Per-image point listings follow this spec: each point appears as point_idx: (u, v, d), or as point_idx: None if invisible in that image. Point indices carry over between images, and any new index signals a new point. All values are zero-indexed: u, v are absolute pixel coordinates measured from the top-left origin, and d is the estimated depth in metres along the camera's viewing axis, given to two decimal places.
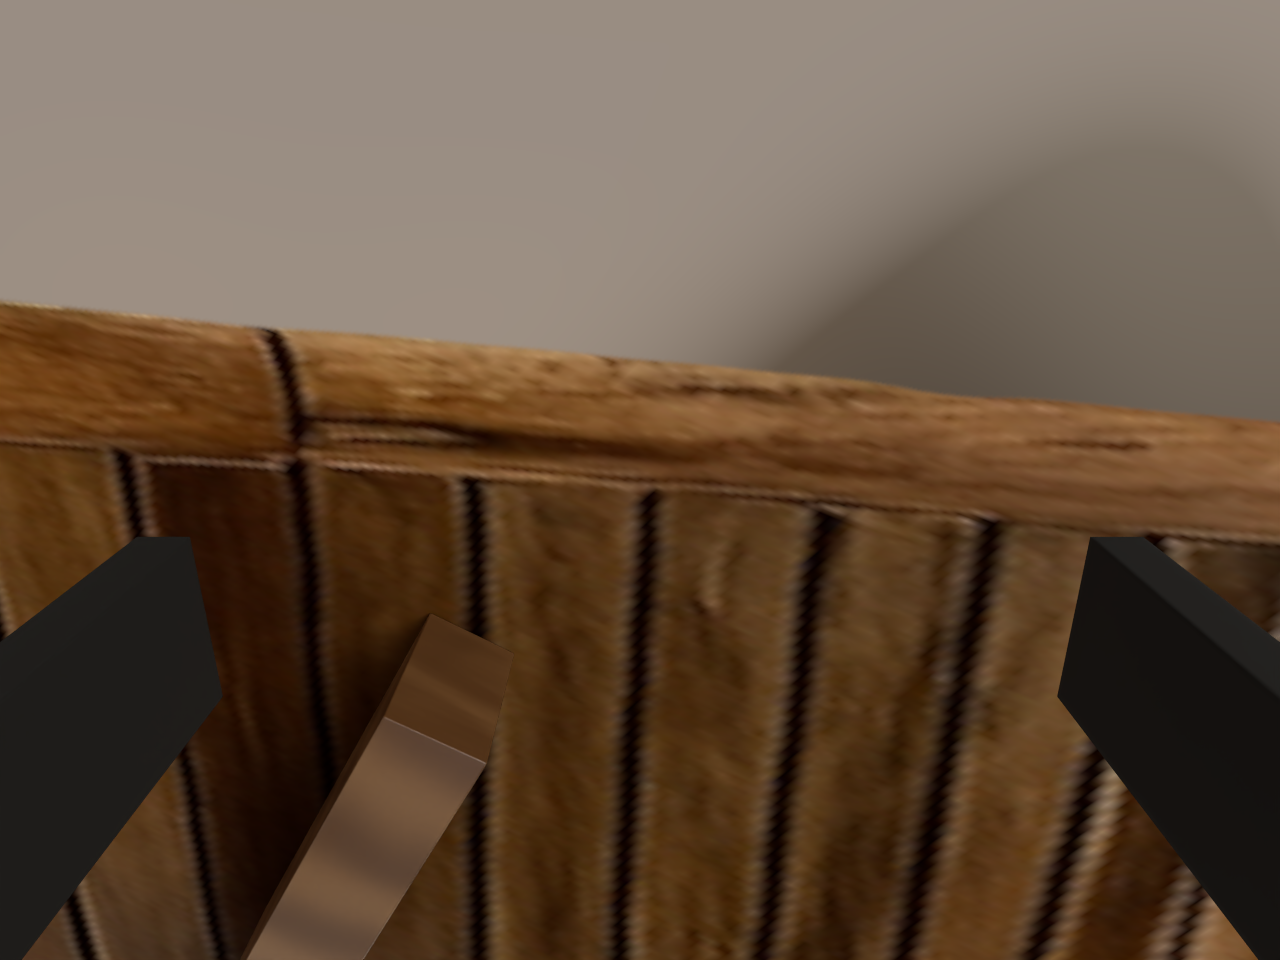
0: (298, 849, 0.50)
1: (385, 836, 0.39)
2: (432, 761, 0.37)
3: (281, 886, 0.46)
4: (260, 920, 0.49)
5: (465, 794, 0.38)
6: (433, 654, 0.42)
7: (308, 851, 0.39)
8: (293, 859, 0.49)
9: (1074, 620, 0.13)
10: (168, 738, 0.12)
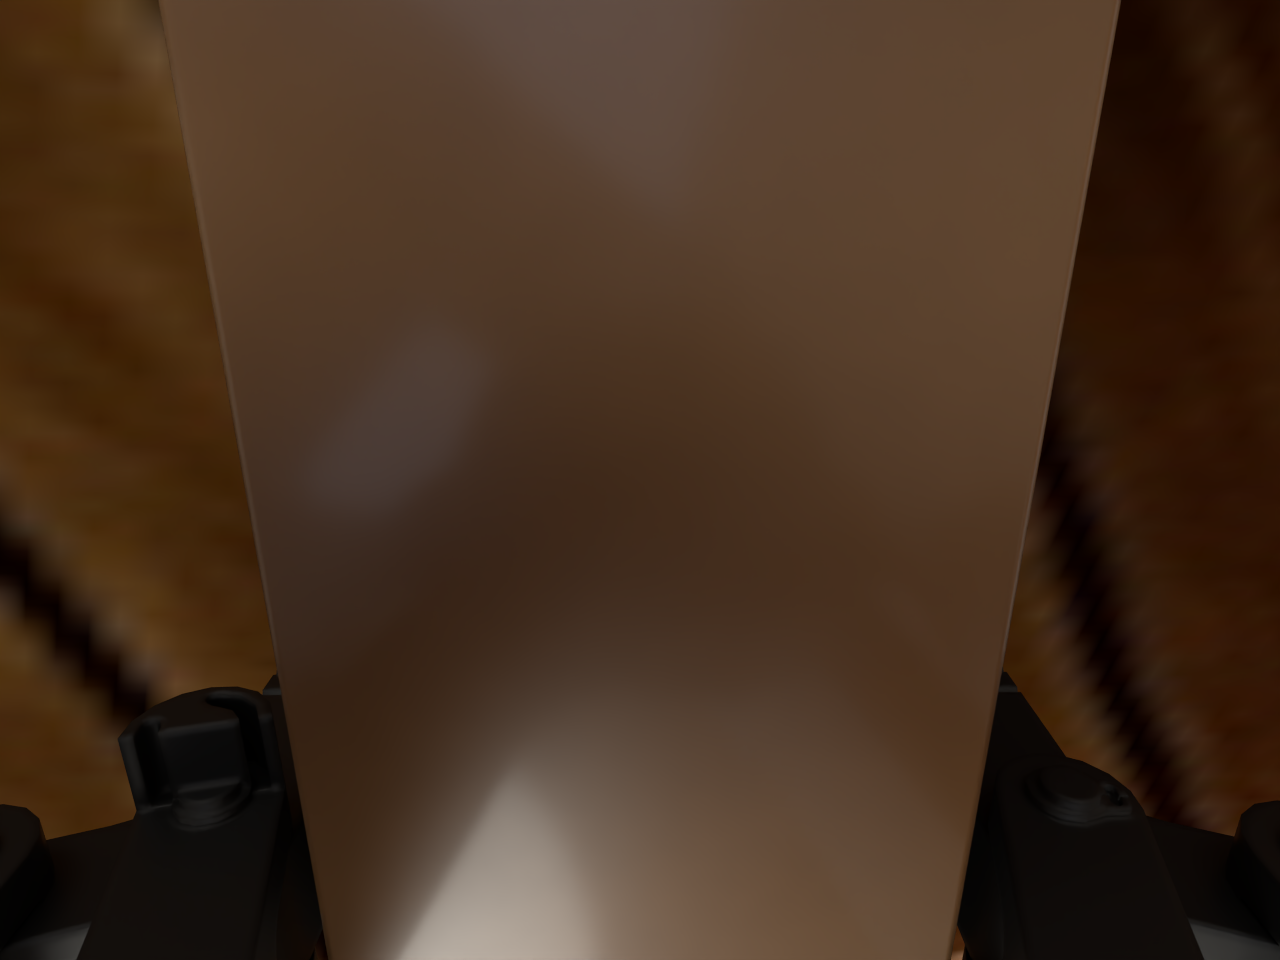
0: None
1: (601, 766, 0.06)
2: None
3: None
4: None
5: None
6: None
7: (1042, 416, 0.05)
8: None
9: None
10: None
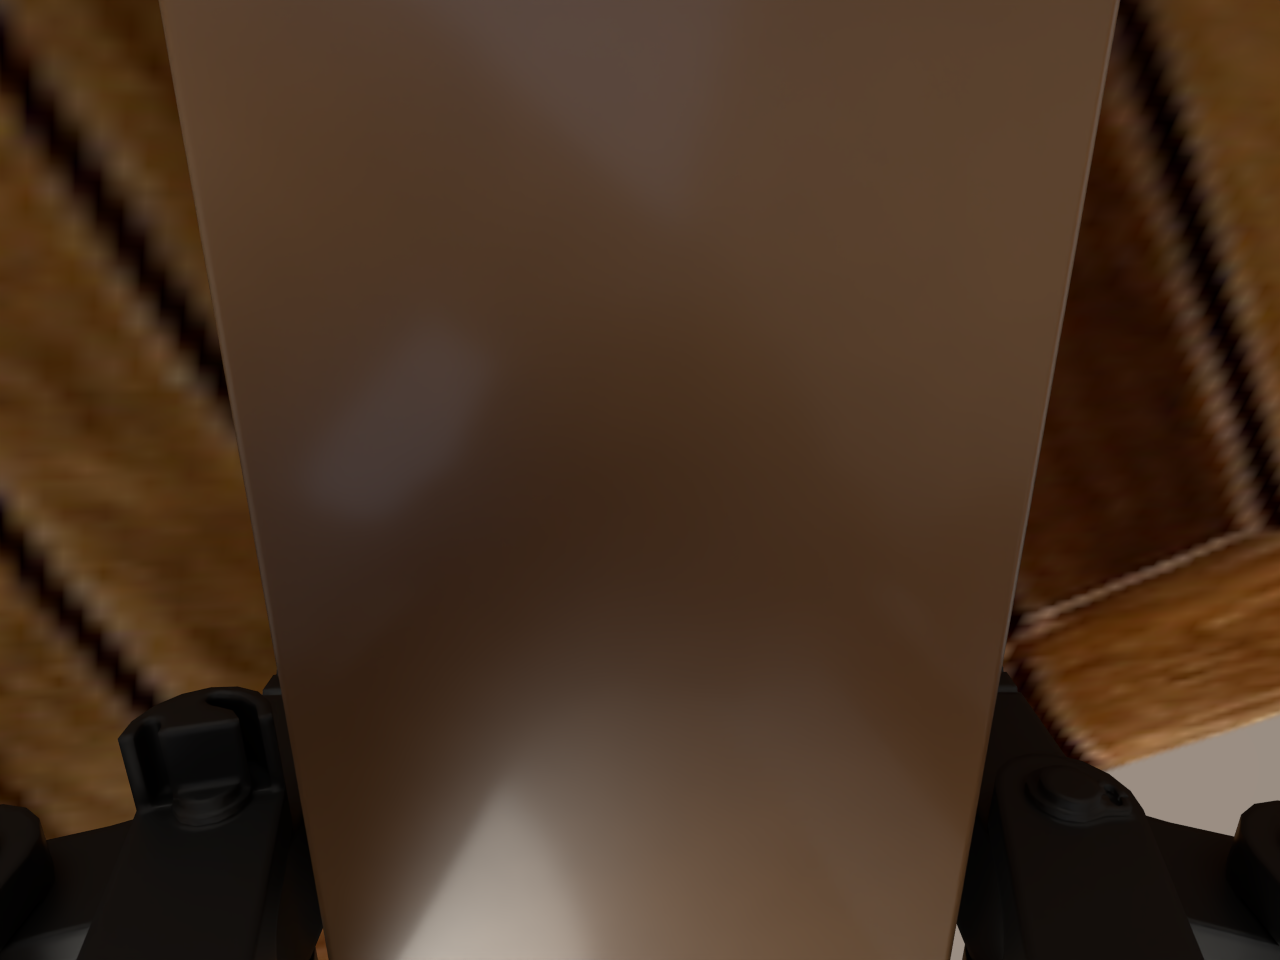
0: None
1: (600, 767, 0.06)
2: None
3: None
4: None
5: None
6: None
7: (1041, 418, 0.05)
8: None
9: None
10: None
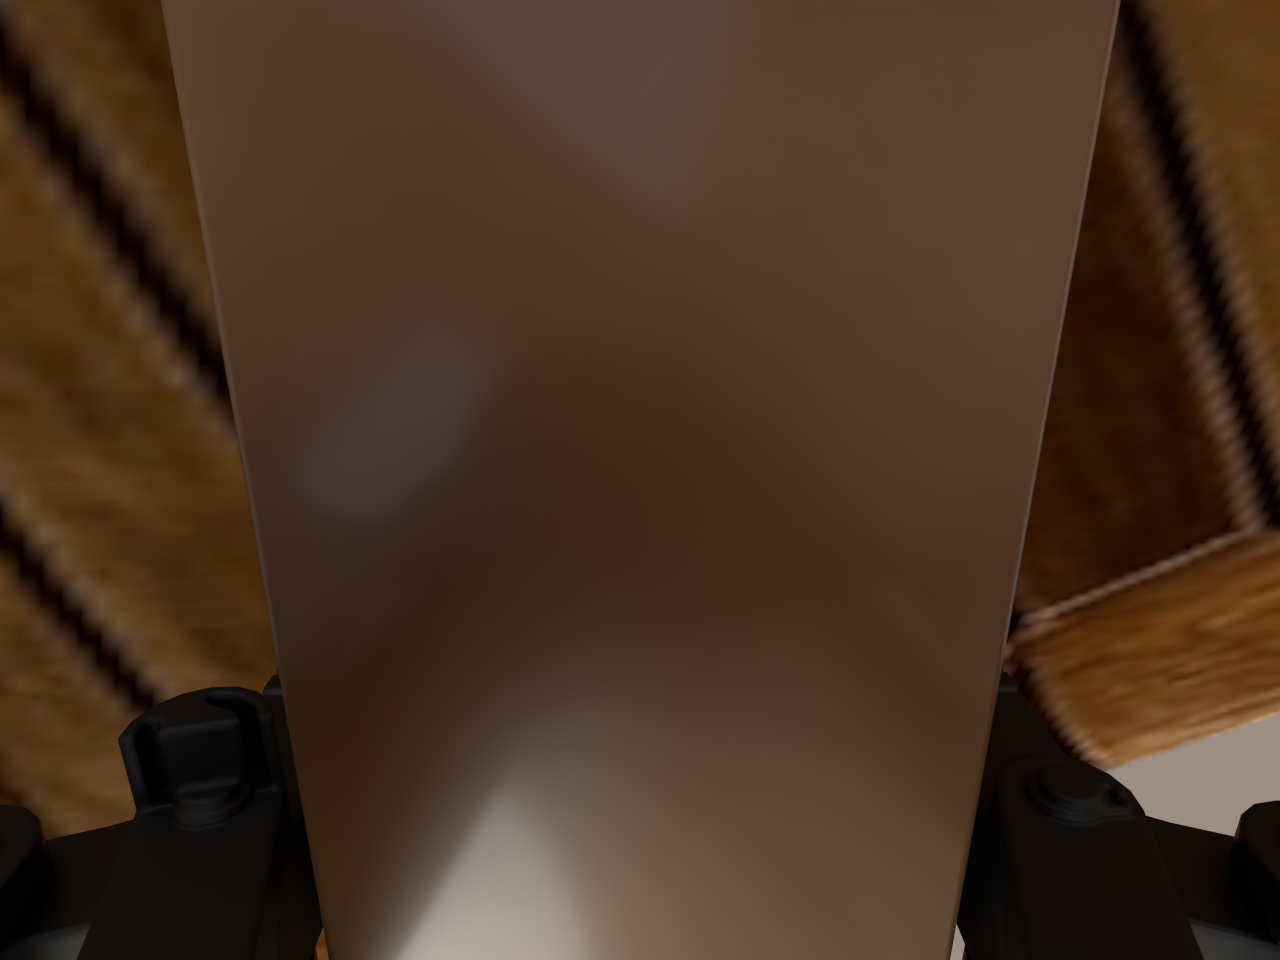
0: None
1: (601, 765, 0.06)
2: None
3: None
4: None
5: None
6: None
7: (1041, 417, 0.05)
8: None
9: None
10: None
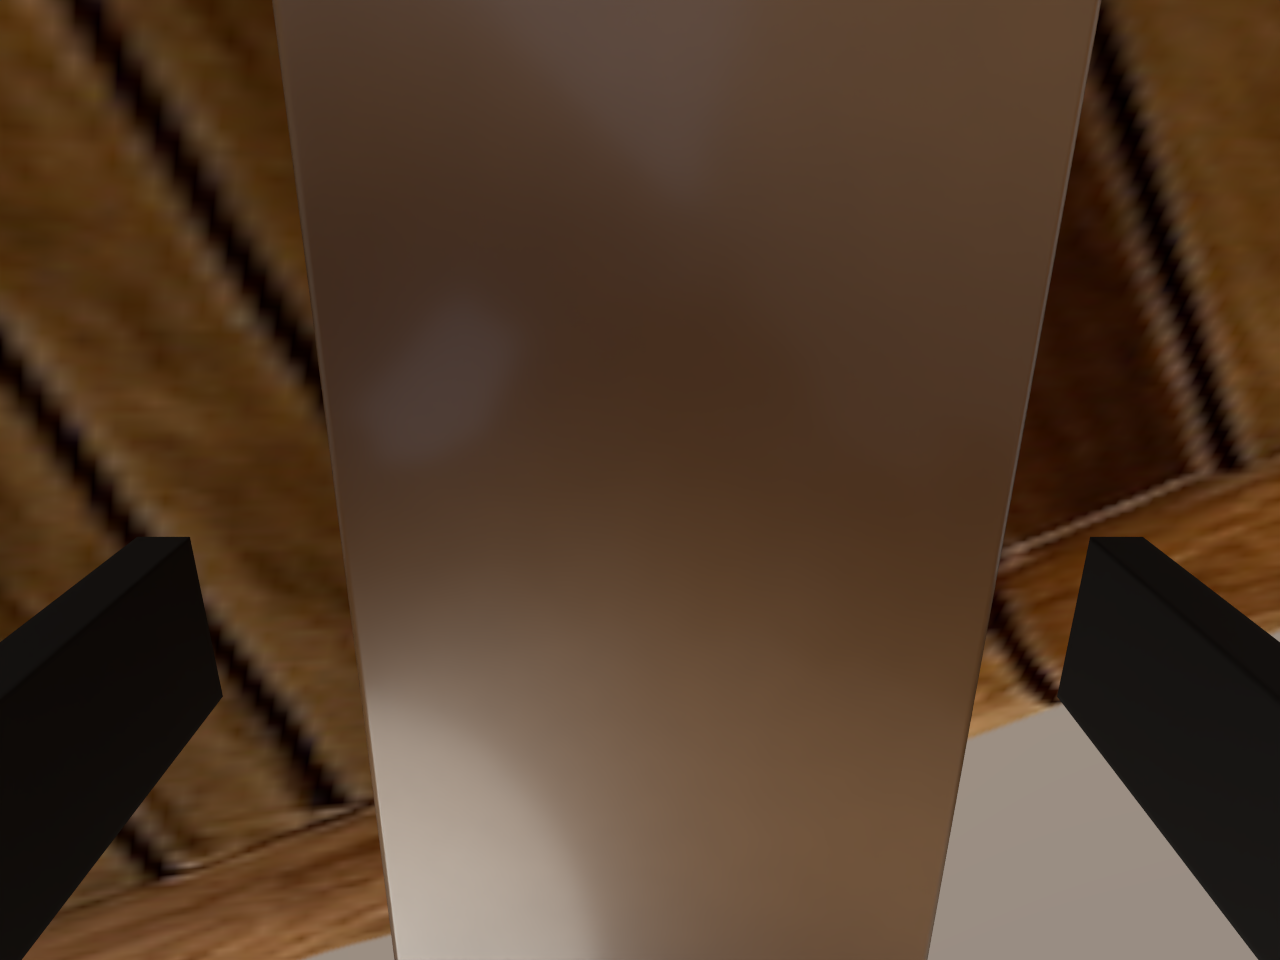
0: None
1: (633, 545, 0.06)
2: None
3: None
4: None
5: (398, 933, 0.08)
6: None
7: (1063, 182, 0.05)
8: None
9: (1074, 620, 0.13)
10: (167, 738, 0.12)
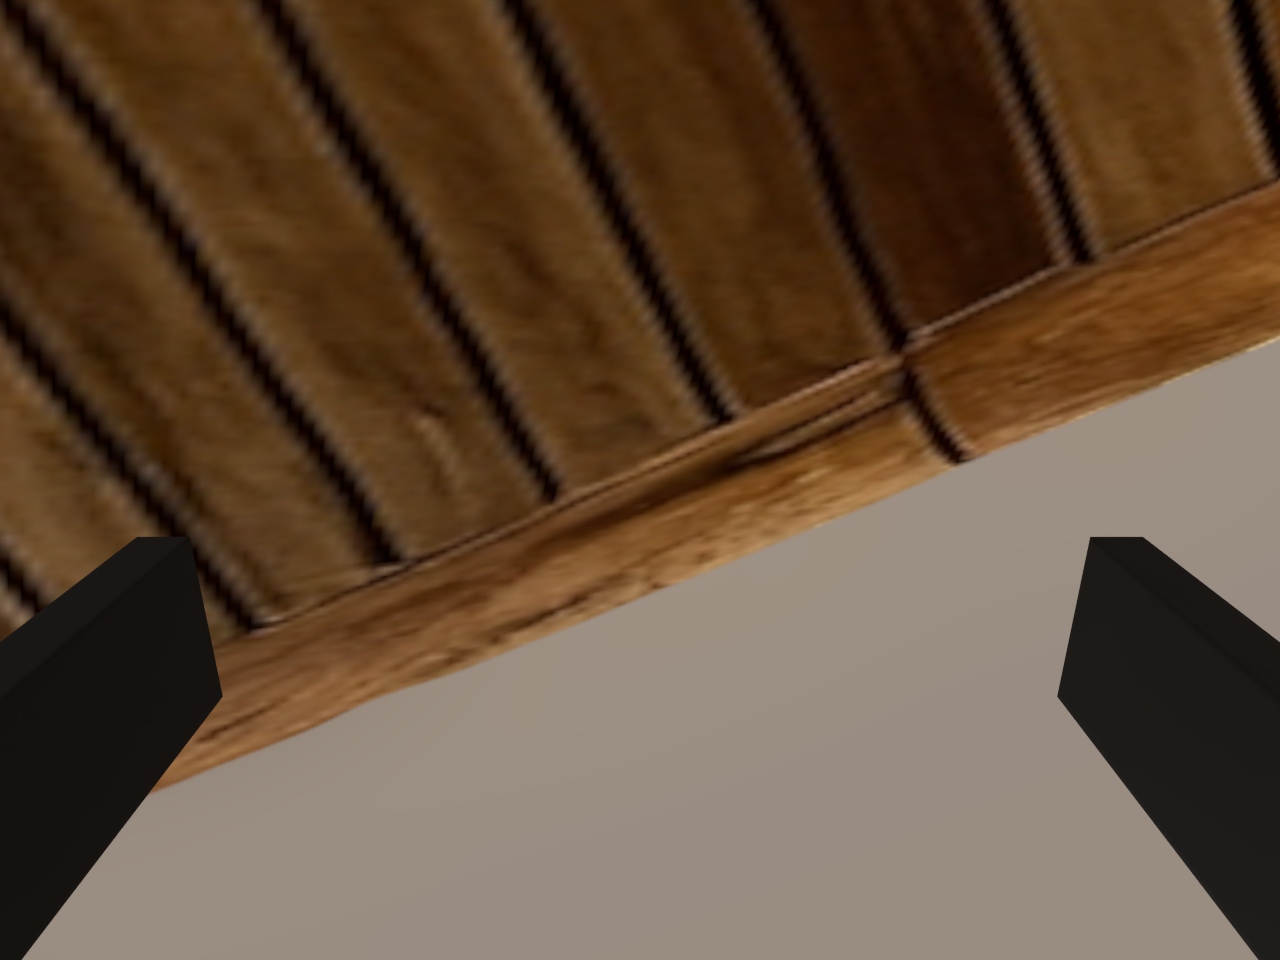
0: None
1: None
2: None
3: None
4: None
5: None
6: None
7: None
8: None
9: (1074, 620, 0.13)
10: (167, 738, 0.12)
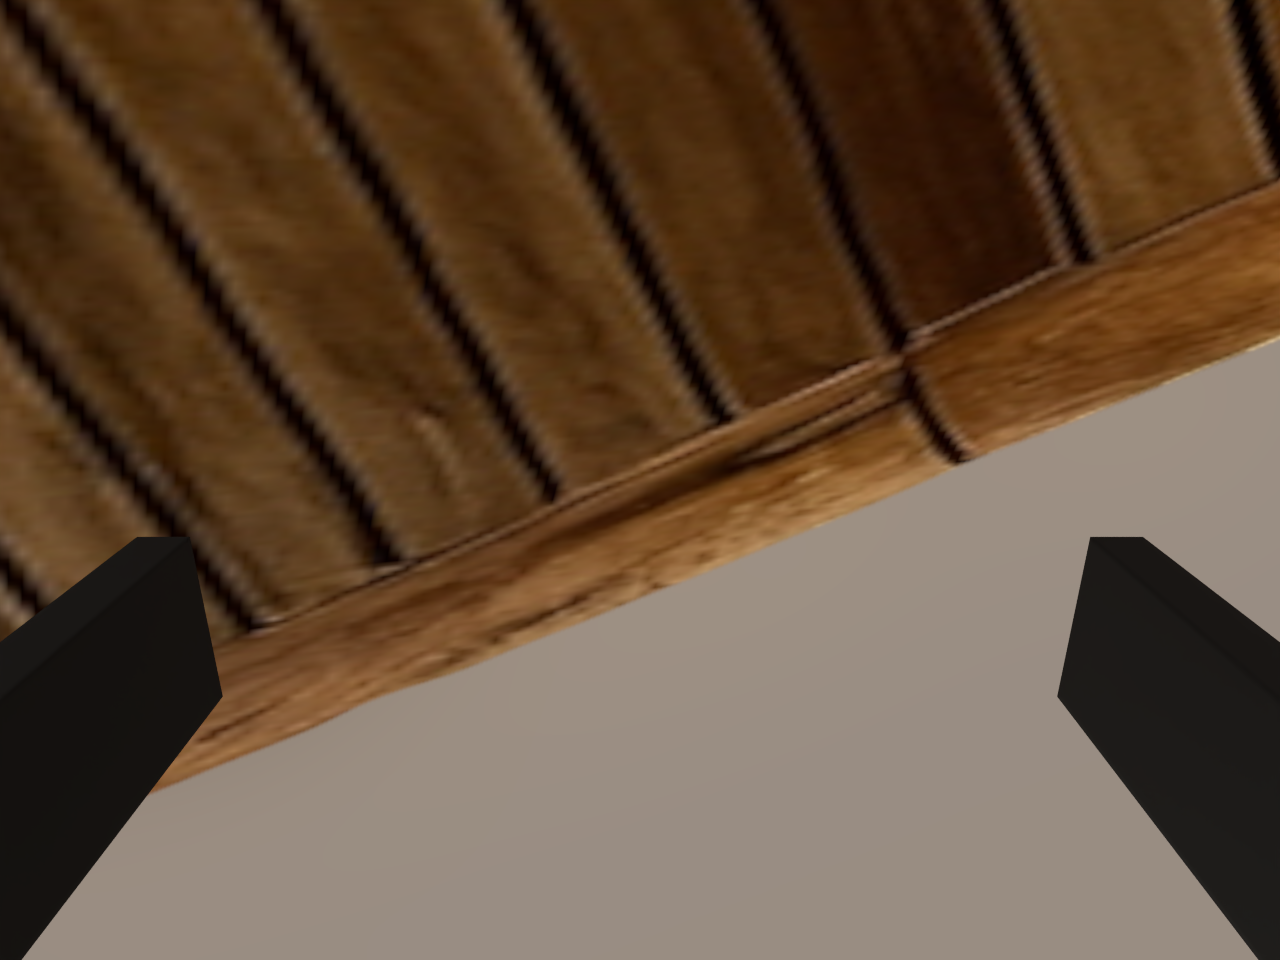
0: None
1: None
2: None
3: None
4: None
5: None
6: None
7: None
8: None
9: (1074, 620, 0.13)
10: (167, 738, 0.12)
